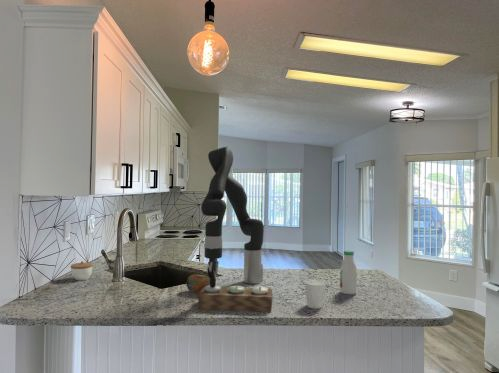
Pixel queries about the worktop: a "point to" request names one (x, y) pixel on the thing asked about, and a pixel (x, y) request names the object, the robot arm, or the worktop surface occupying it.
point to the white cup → (315, 293)
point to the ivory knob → (260, 290)
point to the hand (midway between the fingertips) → (212, 286)
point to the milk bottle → (348, 274)
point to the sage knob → (236, 289)
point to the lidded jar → (81, 270)
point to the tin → (197, 282)
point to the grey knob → (213, 289)
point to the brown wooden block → (235, 300)
